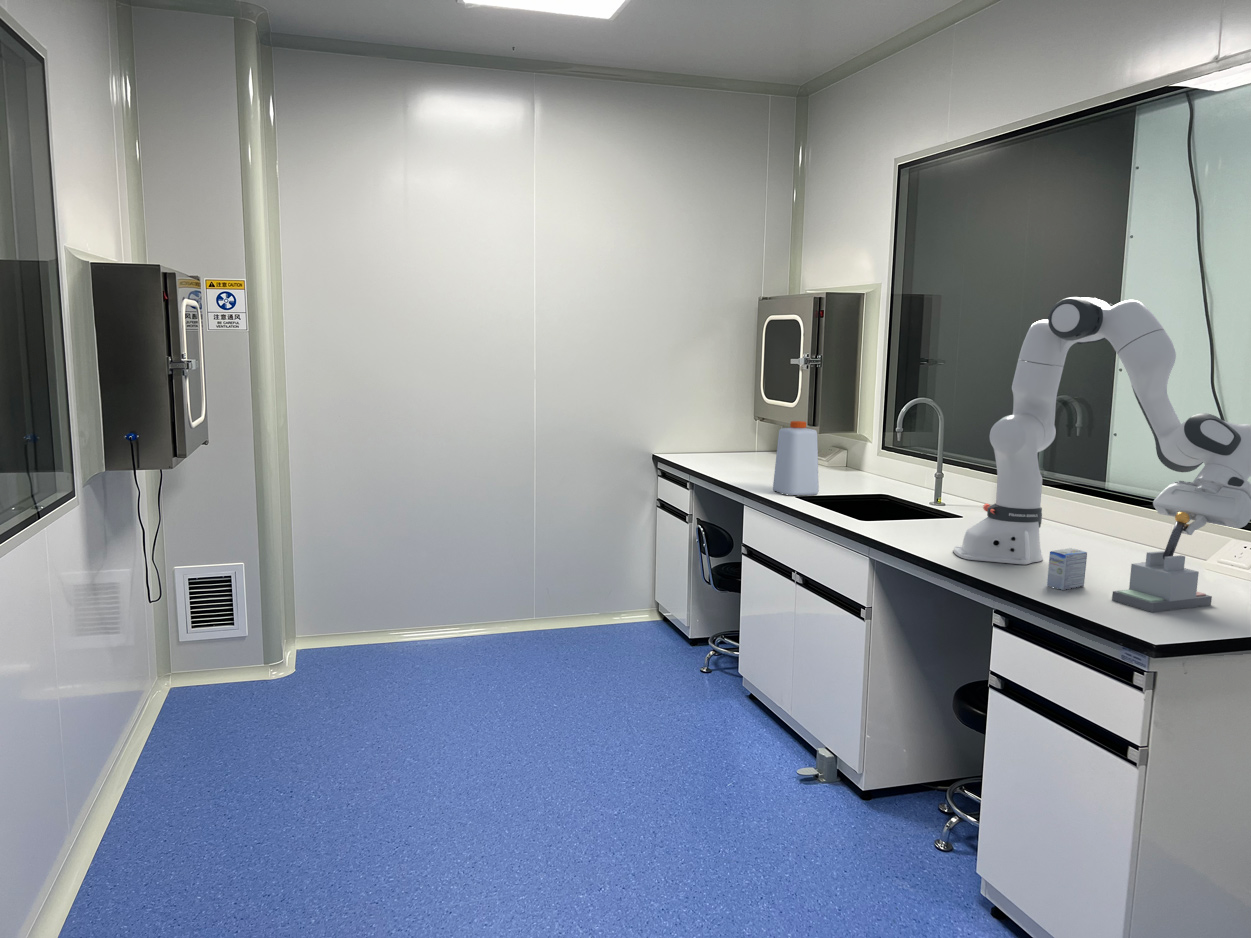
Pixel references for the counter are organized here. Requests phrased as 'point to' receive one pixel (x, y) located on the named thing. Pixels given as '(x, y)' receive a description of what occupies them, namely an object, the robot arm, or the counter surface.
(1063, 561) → the medicine box
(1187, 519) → the lever
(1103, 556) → the counter surface
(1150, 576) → the breaker block
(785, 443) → the plastic bottle
